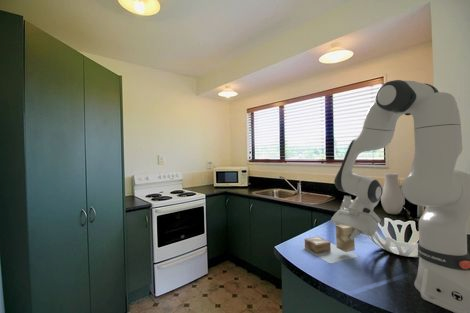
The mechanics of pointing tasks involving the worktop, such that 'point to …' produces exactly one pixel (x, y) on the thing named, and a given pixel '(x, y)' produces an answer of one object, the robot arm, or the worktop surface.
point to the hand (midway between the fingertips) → (343, 236)
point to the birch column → (344, 238)
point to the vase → (392, 194)
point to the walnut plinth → (317, 245)
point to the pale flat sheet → (334, 254)
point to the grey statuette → (346, 202)
